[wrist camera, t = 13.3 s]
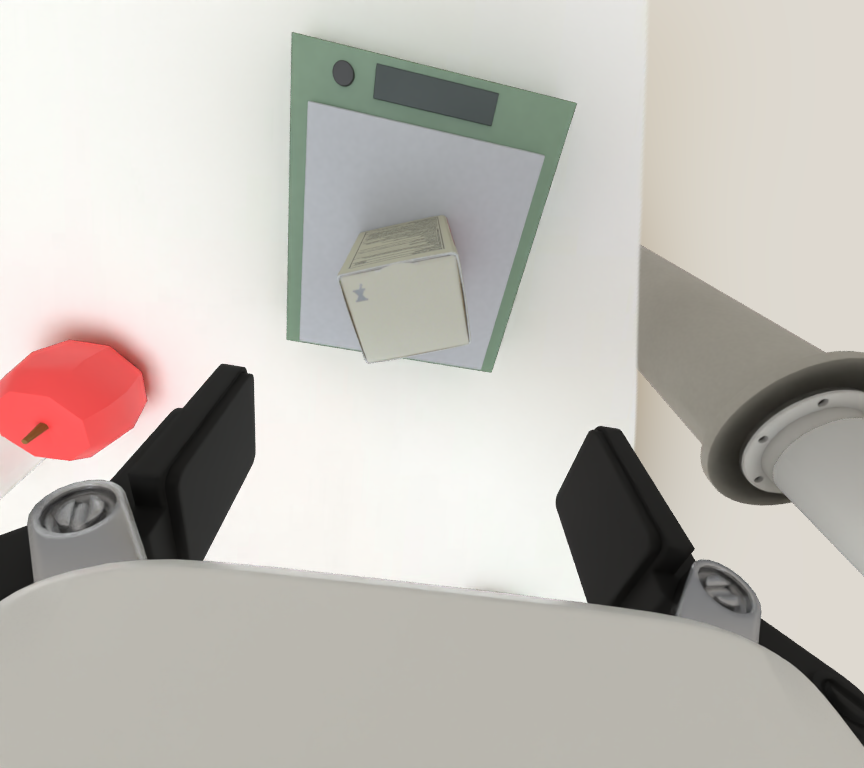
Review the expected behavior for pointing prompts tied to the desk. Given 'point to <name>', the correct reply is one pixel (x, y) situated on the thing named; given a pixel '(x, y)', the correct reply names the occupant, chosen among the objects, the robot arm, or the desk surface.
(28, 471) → the tube
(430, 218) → the small box
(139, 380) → the apple
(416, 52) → the desk surface
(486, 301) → the scale
